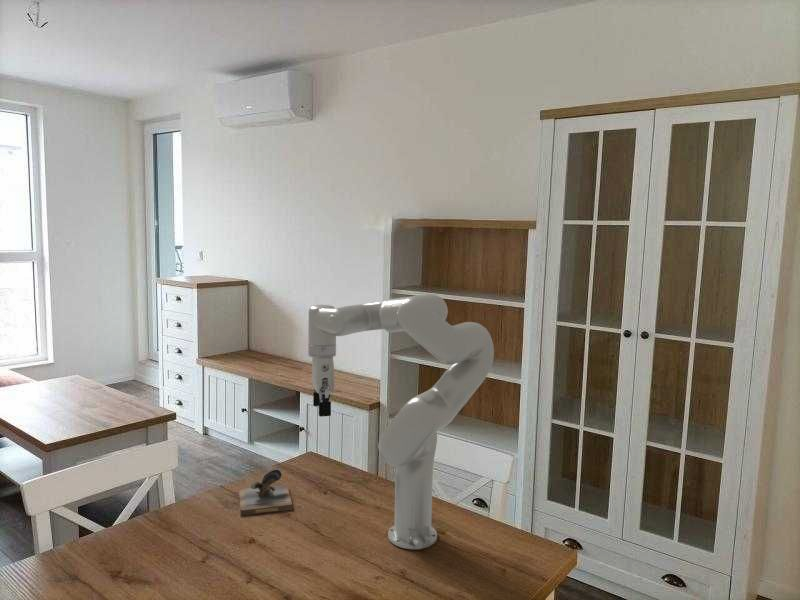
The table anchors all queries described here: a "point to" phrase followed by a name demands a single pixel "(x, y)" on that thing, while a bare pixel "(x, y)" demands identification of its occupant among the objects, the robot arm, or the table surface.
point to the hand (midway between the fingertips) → (321, 410)
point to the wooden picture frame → (264, 500)
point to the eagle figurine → (267, 482)
